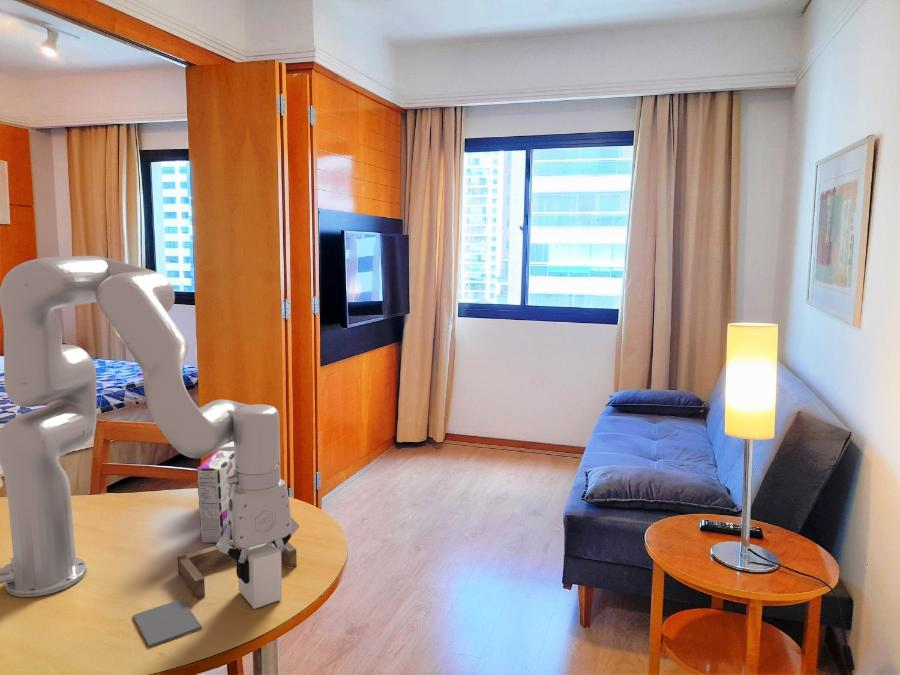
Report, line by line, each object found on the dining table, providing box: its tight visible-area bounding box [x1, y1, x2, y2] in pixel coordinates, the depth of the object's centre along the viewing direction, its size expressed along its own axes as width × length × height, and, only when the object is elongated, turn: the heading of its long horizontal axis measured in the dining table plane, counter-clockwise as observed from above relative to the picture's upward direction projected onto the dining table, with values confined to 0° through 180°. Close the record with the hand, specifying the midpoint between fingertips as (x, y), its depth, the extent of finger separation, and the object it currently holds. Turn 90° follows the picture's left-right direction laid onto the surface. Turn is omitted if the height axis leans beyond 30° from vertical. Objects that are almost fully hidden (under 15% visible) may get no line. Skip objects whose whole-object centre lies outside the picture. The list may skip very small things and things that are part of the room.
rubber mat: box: [132, 598, 203, 648], centre depth 106 cm, size 8×10×1 cm
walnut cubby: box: [176, 540, 298, 600], centre depth 122 cm, size 19×10×4 cm, turn 129°
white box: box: [238, 542, 283, 610], centre depth 113 cm, size 5×7×9 cm
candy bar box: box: [196, 450, 235, 544], centre depth 137 cm, size 11×5×16 cm, turn 179°
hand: (259, 574), depth 113 cm, fingers closed on white box, 5 cm apart
